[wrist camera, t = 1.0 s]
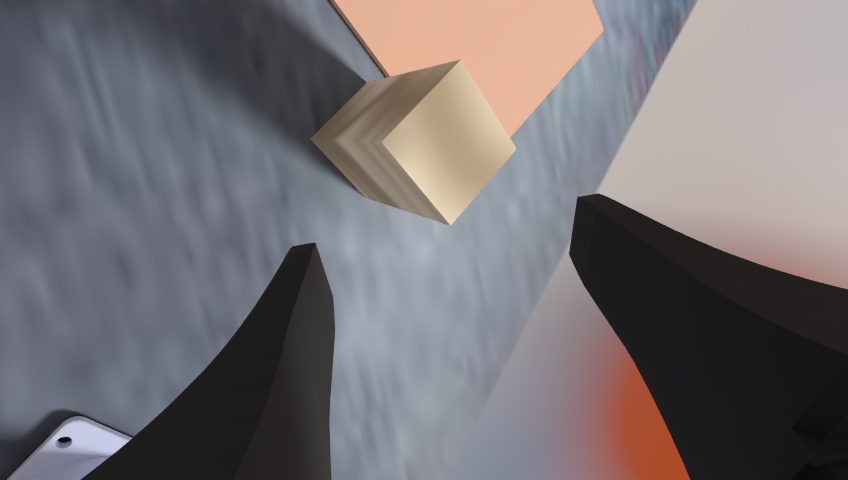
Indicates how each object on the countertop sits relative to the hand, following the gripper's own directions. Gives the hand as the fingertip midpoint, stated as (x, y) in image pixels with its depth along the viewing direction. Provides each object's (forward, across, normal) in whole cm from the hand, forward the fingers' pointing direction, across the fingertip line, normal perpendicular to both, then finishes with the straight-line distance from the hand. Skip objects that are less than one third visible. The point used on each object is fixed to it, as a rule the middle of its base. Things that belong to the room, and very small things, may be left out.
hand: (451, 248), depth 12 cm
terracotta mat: (+16, -6, -2) cm, 17 cm away
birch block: (+11, +2, +2) cm, 12 cm away
